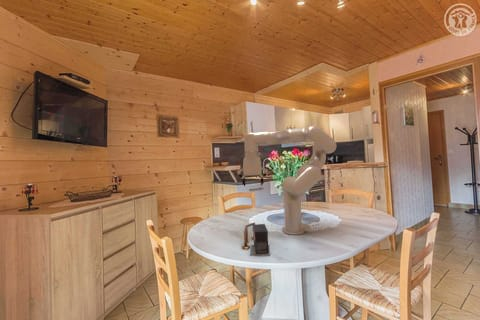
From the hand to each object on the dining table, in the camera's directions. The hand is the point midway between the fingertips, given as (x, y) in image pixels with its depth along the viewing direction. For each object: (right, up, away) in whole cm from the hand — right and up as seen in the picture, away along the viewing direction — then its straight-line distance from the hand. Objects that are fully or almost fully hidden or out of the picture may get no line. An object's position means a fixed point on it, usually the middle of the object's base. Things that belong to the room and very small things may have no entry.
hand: (253, 185), depth 127 cm
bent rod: (-2, -29, -10) cm, 30 cm away
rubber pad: (+2, -29, -19) cm, 35 cm away
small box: (+3, -28, -19) cm, 34 cm away
